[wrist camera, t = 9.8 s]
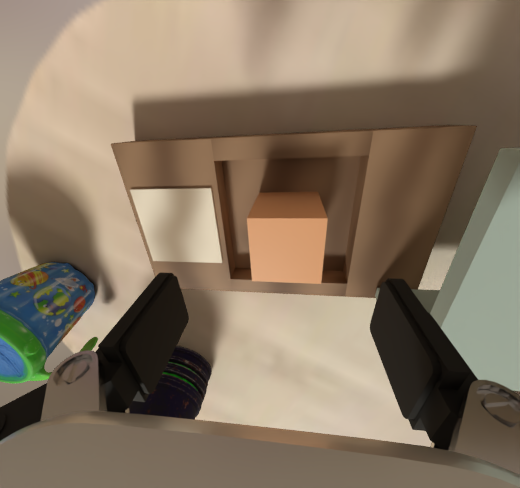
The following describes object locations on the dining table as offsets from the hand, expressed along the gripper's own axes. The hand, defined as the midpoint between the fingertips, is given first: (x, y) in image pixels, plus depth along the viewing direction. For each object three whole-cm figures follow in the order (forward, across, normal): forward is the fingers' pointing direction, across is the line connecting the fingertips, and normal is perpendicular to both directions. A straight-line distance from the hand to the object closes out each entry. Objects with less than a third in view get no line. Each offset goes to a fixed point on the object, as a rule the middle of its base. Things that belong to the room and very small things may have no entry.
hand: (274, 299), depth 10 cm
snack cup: (+13, +28, +10) cm, 32 cm away
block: (+11, -1, +1) cm, 11 cm away
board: (+12, 0, +1) cm, 12 cm away
